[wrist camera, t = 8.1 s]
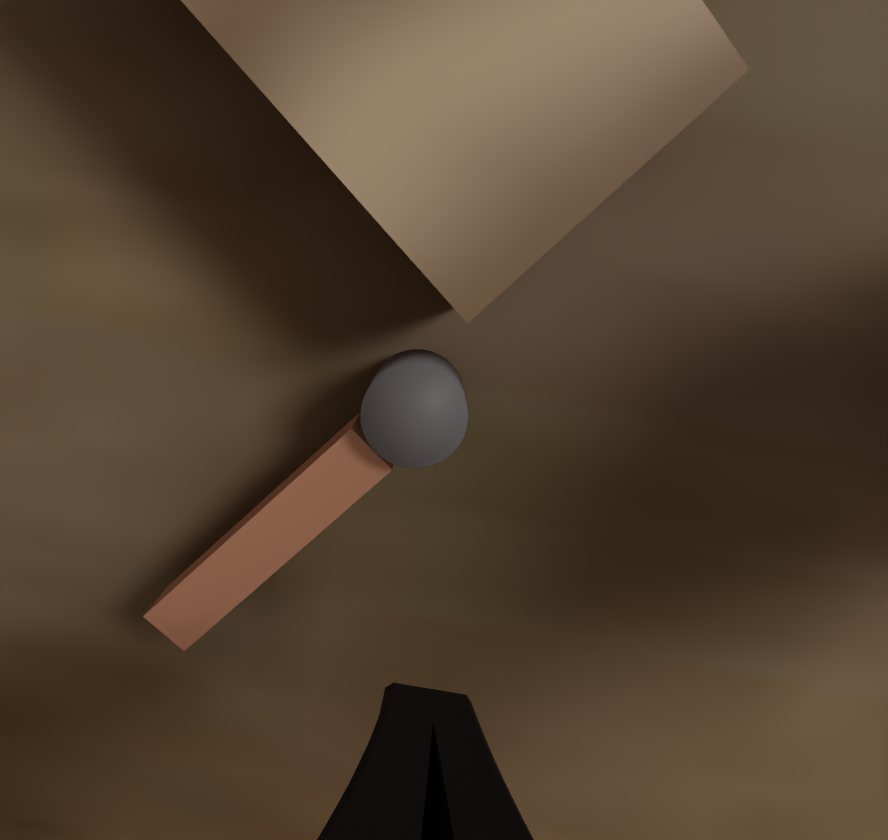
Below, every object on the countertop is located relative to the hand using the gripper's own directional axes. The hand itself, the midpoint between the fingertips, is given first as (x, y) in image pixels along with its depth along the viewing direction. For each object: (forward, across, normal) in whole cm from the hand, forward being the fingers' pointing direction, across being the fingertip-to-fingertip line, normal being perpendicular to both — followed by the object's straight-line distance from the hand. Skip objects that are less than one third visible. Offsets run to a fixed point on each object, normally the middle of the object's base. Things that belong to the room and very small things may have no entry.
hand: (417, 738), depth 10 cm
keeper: (+8, +3, 0) cm, 9 cm away
